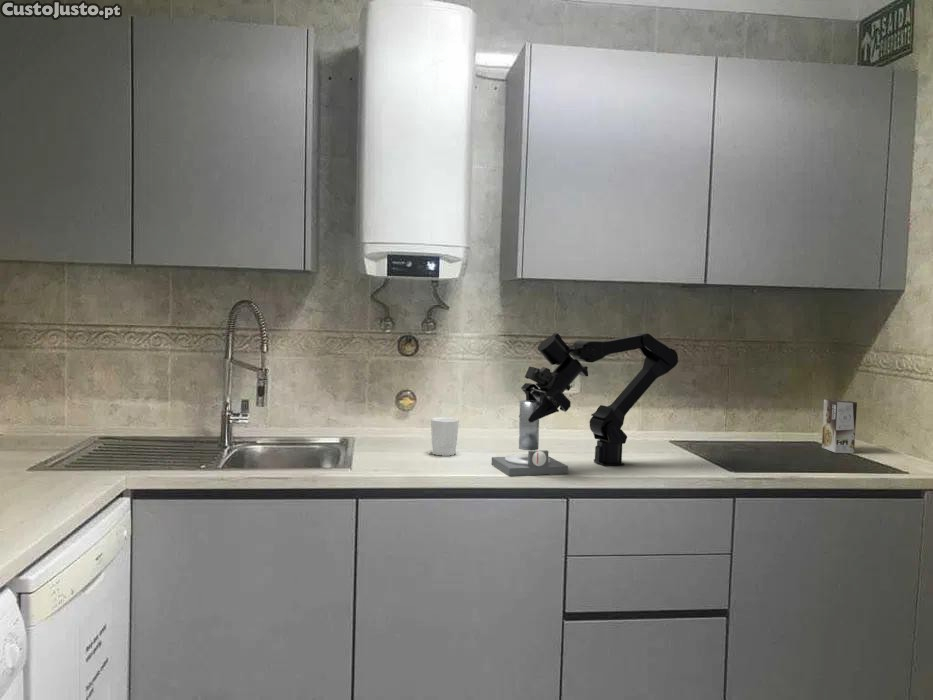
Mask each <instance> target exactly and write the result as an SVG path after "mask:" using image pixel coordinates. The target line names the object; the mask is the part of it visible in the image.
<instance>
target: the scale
mask: <svg viewBox="0 0 933 700" xmlns="http://www.w3.org/2000/svg"><path fill="white" fill-rule="evenodd" d="M527 451H528V453H518V454H517V453H516V454H508V455H506V456H492V457H491V465H492V466H493V465H494V466H493V467H494V468H496V467H497V468H496V469H498V470H499V469H500V471H501V472H502V471H503V472H502V473H504V474H505V473H506V474H505V475H506V476H508V477H523V476H525V477H526V476H527V475H528V476H543V475H542V474H552V475H567V474H566V473H568V474H569V466H568V465H567V464H564V463H562V462H560V460H559V461H558V460H557V459H555V458H553V457H551V456H549V451H548V450H544V449H543V450H527ZM564 473H565V474H564Z"/></svg>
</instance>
